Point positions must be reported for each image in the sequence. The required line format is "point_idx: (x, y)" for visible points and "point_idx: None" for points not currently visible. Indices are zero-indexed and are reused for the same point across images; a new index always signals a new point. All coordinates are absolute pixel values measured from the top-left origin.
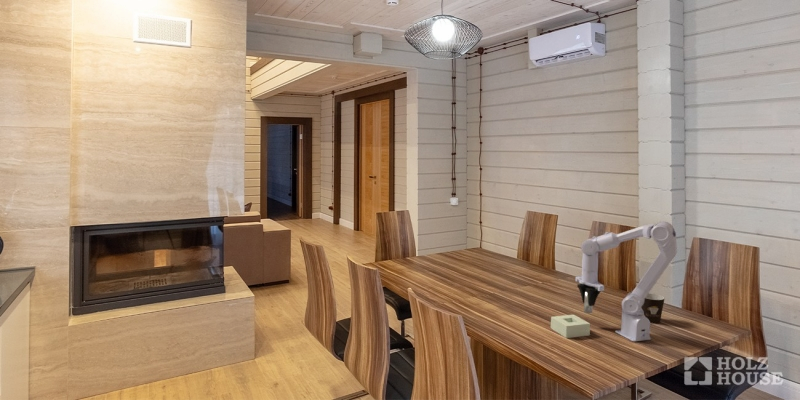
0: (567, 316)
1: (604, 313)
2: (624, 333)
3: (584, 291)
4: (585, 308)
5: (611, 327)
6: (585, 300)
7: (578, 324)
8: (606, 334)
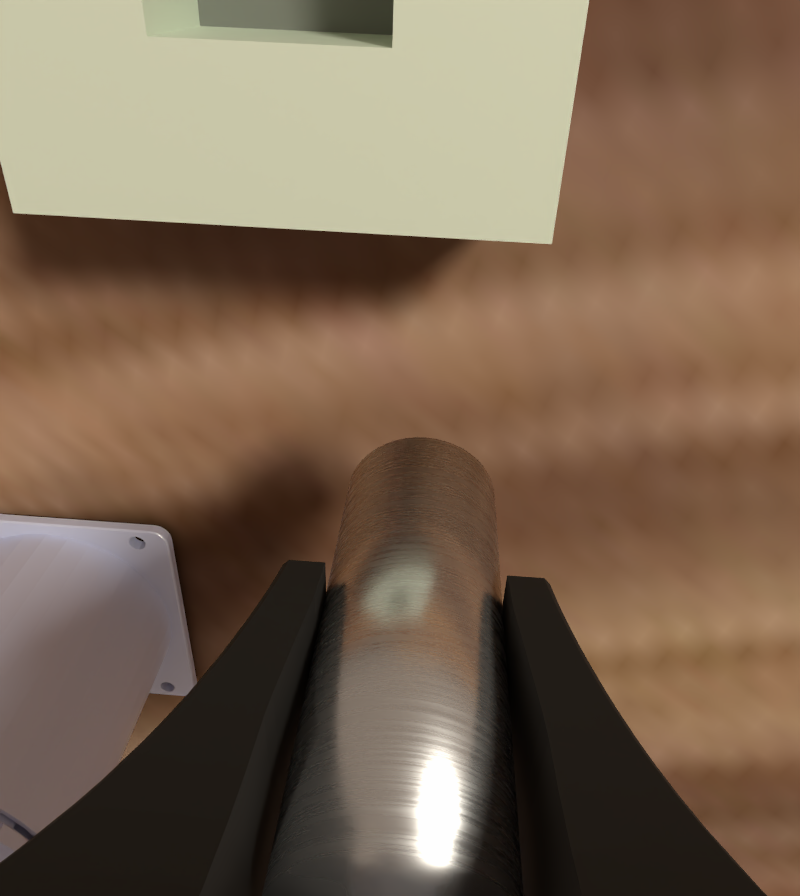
0: (500, 2)
1: (678, 758)
2: (20, 547)
3: (547, 879)
4: (407, 485)
5: None
6: (404, 617)
7: None
8: (121, 399)
